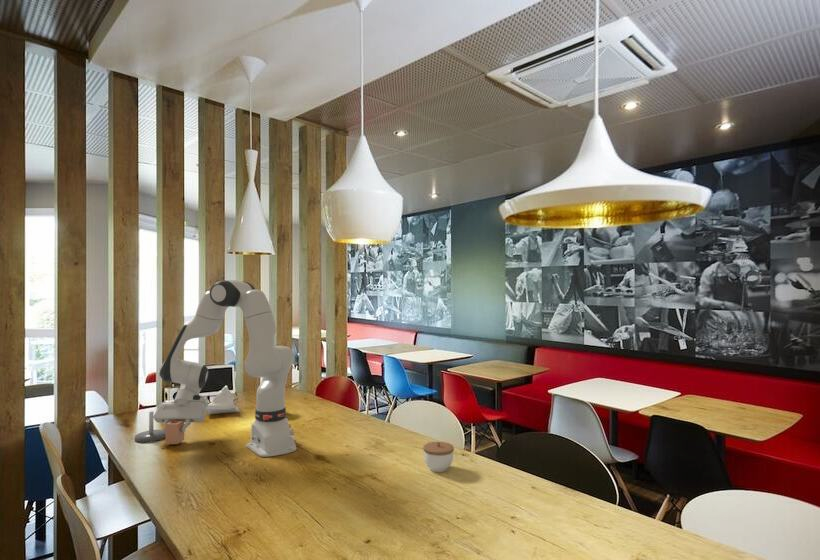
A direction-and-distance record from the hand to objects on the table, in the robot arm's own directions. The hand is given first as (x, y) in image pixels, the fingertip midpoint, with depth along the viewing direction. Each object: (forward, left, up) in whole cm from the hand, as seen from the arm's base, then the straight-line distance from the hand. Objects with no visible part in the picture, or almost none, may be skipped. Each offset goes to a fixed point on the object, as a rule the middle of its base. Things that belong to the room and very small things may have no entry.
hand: (174, 431), depth 184 cm
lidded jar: (-74, -79, -6) cm, 109 cm away
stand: (+14, +8, -5) cm, 17 cm away
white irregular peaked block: (+39, -24, -6) cm, 46 cm away
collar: (+1, 0, -5) cm, 5 cm away
